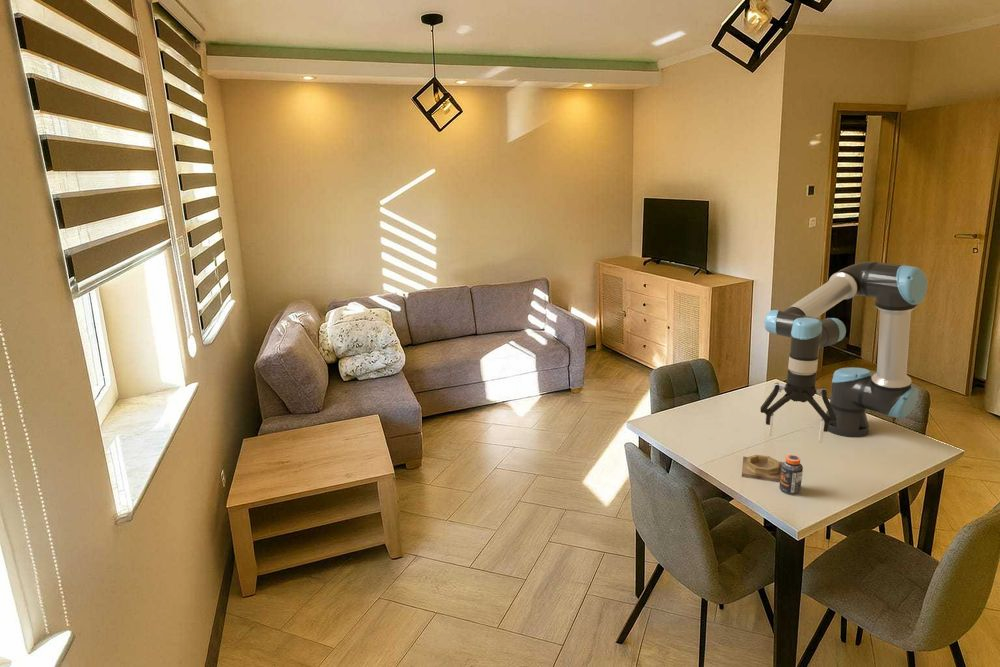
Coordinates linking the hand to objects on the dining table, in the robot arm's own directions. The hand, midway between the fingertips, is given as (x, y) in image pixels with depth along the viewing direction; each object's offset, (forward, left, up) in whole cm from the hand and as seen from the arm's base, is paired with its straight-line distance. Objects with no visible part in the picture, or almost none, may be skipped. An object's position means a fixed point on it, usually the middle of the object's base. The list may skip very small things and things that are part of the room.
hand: (794, 437), depth 182 cm
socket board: (+8, -10, -18) cm, 22 cm away
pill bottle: (0, 0, -18) cm, 18 cm away
